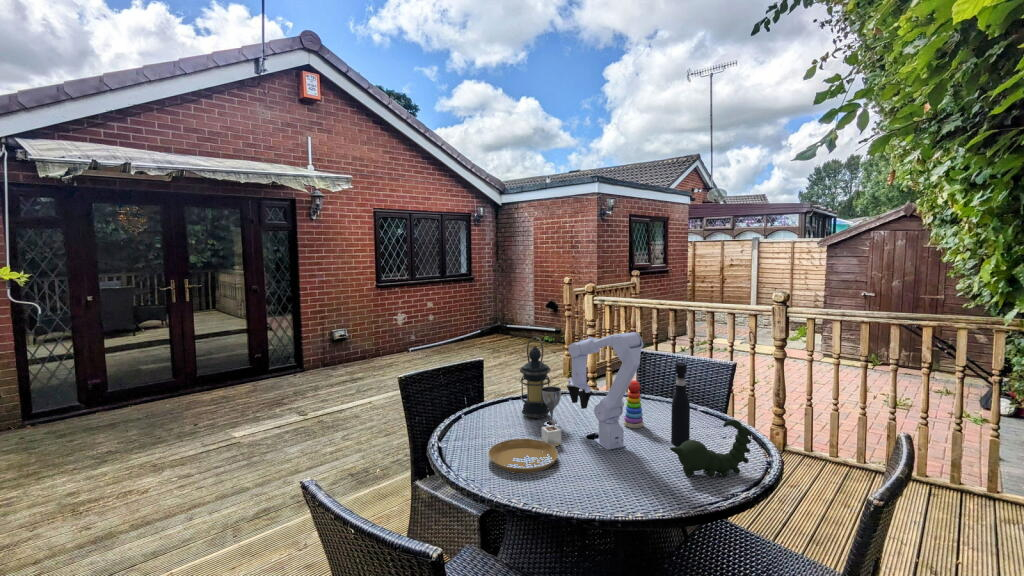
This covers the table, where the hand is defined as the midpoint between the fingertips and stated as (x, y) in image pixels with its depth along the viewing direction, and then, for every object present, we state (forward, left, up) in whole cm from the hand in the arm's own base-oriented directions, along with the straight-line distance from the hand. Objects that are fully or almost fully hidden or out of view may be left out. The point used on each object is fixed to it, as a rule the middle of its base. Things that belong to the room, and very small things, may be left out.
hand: (579, 405), depth 189 cm
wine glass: (+11, +7, -11) cm, 17 cm away
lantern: (+23, +9, -11) cm, 27 cm away
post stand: (-7, +16, -10) cm, 20 cm away
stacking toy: (-4, -23, -11) cm, 26 cm away
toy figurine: (-49, -20, -11) cm, 54 cm away
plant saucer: (-16, +31, -11) cm, 37 cm away
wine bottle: (-26, -28, -11) cm, 40 cm away
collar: (-7, +16, -10) cm, 20 cm away
